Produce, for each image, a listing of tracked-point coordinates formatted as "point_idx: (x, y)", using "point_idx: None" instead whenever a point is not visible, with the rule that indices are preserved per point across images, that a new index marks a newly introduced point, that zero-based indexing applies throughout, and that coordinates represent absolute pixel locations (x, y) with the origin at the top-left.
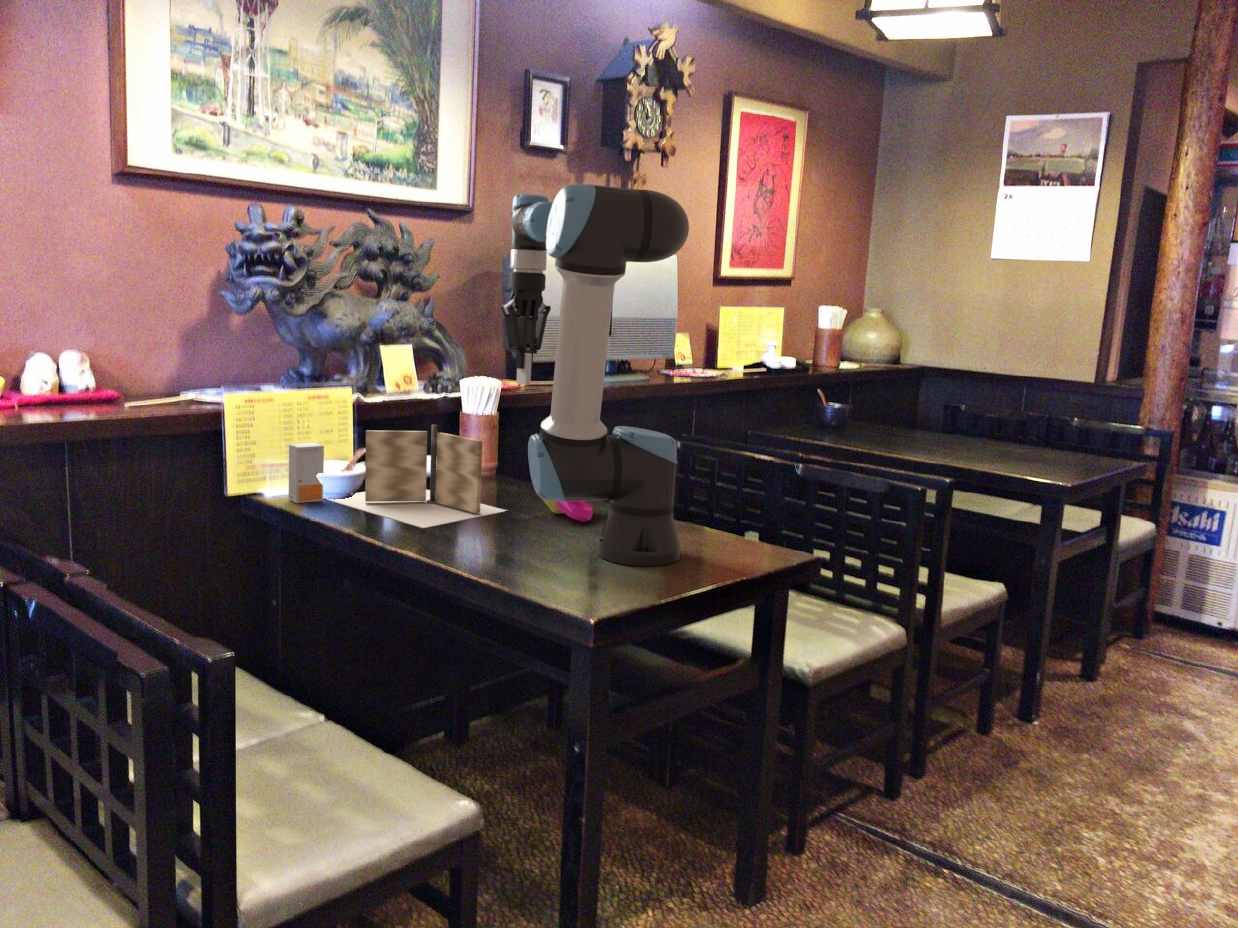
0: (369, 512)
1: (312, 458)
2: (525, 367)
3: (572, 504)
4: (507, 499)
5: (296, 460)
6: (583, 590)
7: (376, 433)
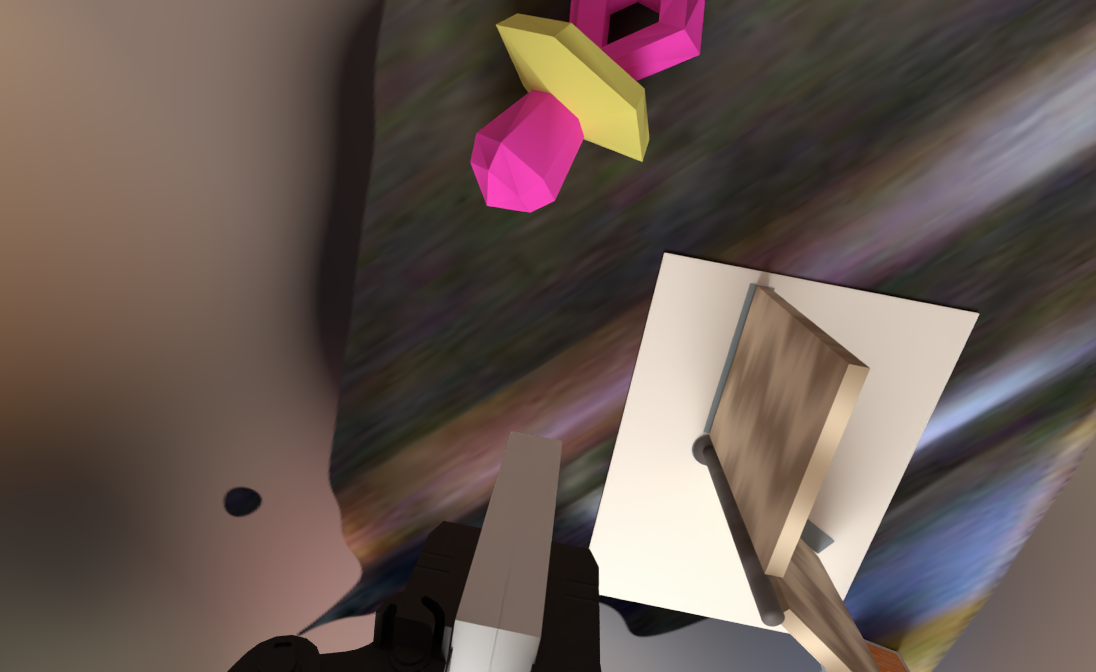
0: (889, 500)
1: None
2: (550, 535)
3: None
4: (535, 332)
5: None
6: None
7: None
